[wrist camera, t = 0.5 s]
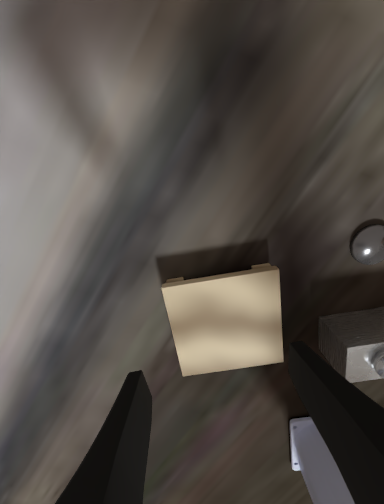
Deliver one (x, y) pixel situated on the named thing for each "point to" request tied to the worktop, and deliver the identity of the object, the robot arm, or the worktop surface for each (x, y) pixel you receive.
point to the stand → (226, 320)
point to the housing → (354, 343)
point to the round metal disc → (368, 245)
